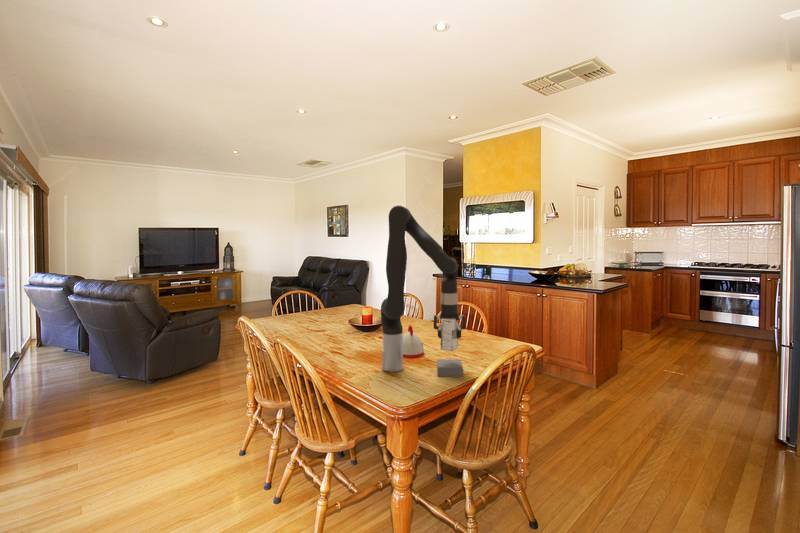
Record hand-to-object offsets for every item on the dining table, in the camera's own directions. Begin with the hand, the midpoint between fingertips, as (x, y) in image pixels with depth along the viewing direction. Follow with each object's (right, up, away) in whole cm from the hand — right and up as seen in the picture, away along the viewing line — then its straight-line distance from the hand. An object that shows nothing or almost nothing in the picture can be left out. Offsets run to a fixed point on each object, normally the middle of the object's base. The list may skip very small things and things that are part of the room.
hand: (449, 338), depth 176 cm
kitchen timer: (-17, -14, +29) cm, 36 cm away
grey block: (0, -16, +1) cm, 16 cm away
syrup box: (0, -5, 0) cm, 5 cm away
